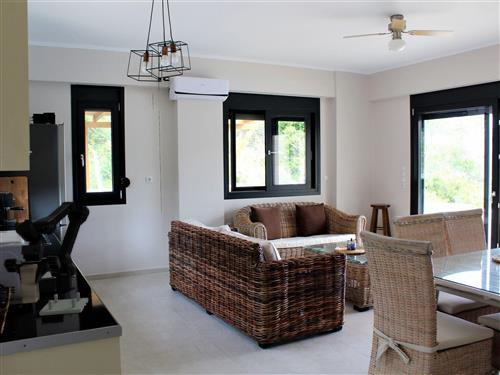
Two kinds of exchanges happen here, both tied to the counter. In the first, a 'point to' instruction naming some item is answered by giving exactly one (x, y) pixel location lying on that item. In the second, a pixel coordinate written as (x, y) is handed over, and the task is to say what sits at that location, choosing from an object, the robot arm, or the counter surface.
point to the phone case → (47, 276)
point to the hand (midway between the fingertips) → (28, 284)
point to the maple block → (29, 283)
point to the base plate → (64, 305)
